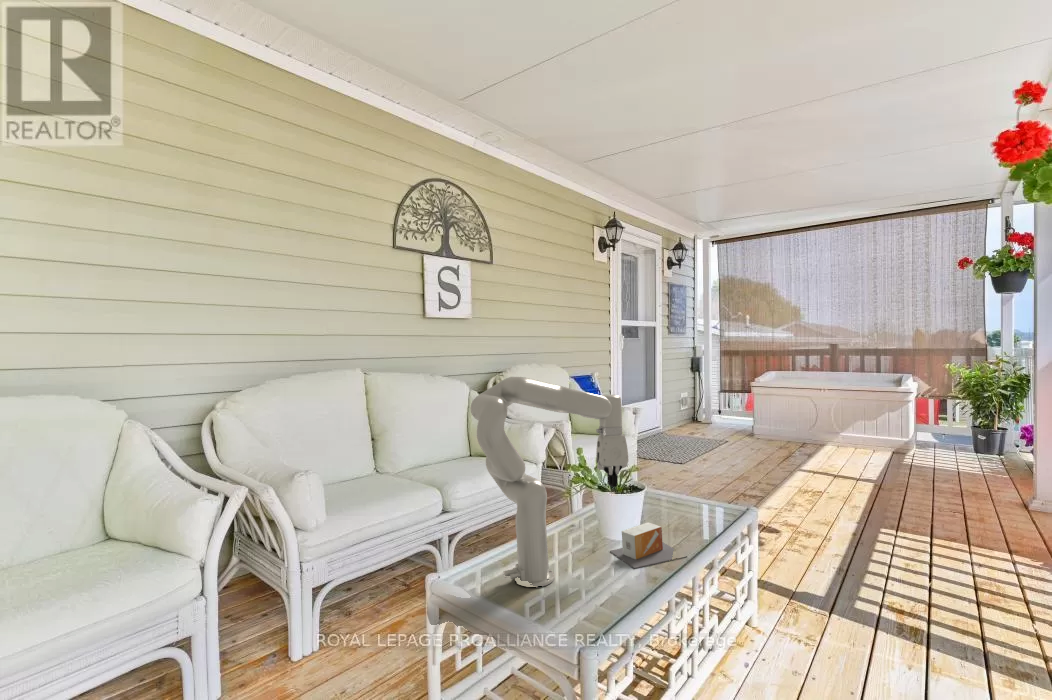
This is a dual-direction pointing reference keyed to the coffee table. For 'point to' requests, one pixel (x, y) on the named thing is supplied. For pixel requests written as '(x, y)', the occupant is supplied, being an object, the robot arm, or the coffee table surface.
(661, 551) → the mat
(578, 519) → the coffee table surface
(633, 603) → the coffee table surface
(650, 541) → the small box
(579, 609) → the coffee table surface
